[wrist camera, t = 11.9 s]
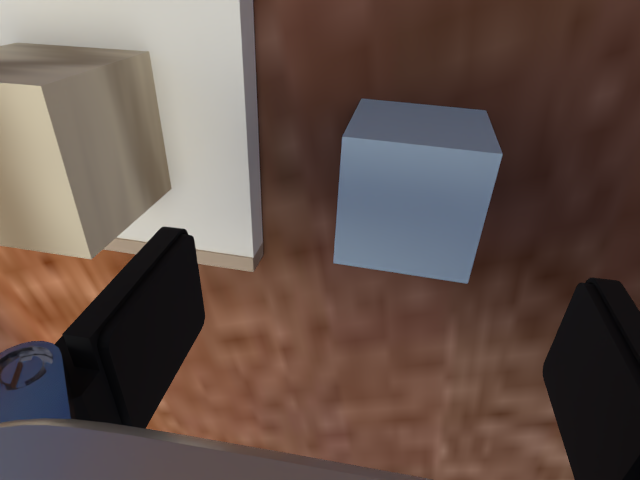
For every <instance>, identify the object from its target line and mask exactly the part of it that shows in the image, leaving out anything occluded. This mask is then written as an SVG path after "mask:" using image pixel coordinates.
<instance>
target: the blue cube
mask: <svg viewBox="0 0 640 480" xmlns="http://www.w3.org/2000/svg"><path fill="white" fill-rule="evenodd" d="M502 155H503V154H502V151H501V148H500V146H499V143H498V141H497V138H496V135H495V133H494V130H493V127H492V125H491V122H490V119H489V117H488V114H487V111H486V110H477V109H466V108H456V107H445V106H435V105H424V104H414V103H404V102H393V101H383V100H372V99H362V98H361V100H360V102H359V104H358V106H357V108H356V110H355V112H354V114H353V116H352V118H351V120H350V122H349V124H348V126H347V128H346V130H345V132H344V134H343V136H342V148H341V162H340V176H339V190H338V204H337V219H336V233H335V247H334V261H333V263H336V264H343V265H349V266H356V267H362V268H369V269H375V270H382V271H388V272H395V273H401V274H408V275H414V276H421V277H428V278H434V279H441V280H447V281H454V282H460V283H467V284H468V281H469V277H470V273H471V269H472V266H473V262H474V258H475V255H476V251H477V247H478V244H479V240H480V236H481V232H482V229H483V225H484V221H485V218H486V214H487V210H488V207H489V203H490V199H491V195H492V192H493V188H494V184H495V181H496V177H497V173H498V170H499V166H500V162H501V158H502Z"/></svg>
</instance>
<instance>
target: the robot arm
mask: <svg viewBox="0 0 640 480" xmlns="http://www.w3.org/2000/svg"><path fill="white" fill-rule="evenodd" d="M204 320H205V312H204V305H203V297H202V290H201V283H200V276H199V269H198V262H197V255H196V248H195V241H194V237H193V236H192V235H188V232H187V230H185V229H182V228H174V227H165V226H164V227H161V228H160V229H159V230H158V231H157V232H156V233H155V234H154V236H153V237H152V238H151V239H150V240H149V241H148V242H147V243H146V244H145V245H144V246H143V247H142V249H141V250H140V251H139V252H138V253H137V254H136V255H135V256H134V257H133V258H132V259H131V260H130V262H129V263H128V264H127V265H126V266H125V267H124V268H123V269H122V270H121V271H120V272H119V273H118V275H117V276H116V277H115V278H114V279H113V280H112V281H111V282H110V283H109V284H108V285H107V286H106V288H105V289H104V290H103V291H102V292H101V293H100V294H99V295H98V296H97V297H96V298H95V299H94V301H93V302H92V303H91V304H90V305H89V306H88V307H87V308H86V309H85V310H84V311H83V312H82V314H81V315H80V316H79V317H78V318H77V319H76V320H75V321H74V322H73V323H72V324H71V325H70V327H69V328H68V329H67V330H66V331H65V332H64V333H63V336H62V337H61V338H60V339H59V340H58V341H57V342H56V343H55V344H53V343H49V342H45V341H31V342H27V343H22V344H19V345H16V346H13V347H11V348H8V349H6V350H5V351H3V352H1V353H0V480H432V479H427V478H422V477H416V476H411V475H405V474H400V473H394V472H389V471H383V470H378V469H372V468H367V467H361V466H356V465H350V464H345V463H339V462H334V461H328V460H322V459H317V458H311V457H306V456H300V455H295V454H289V453H284V452H278V451H272V450H267V449H261V448H255V447H249V446H244V445H238V444H232V443H227V442H221V441H215V440H209V439H204V438H198V437H192V436H187V435H181V434H175V433H169V432H163V431H156V430H150V429H145V428H146V427H147V425H148V423H149V421H150V420H151V418H152V416H153V414H154V412H155V411H156V409H157V407H158V405H159V404H160V402H161V400H162V398H163V396H164V395H165V393H166V391H167V389H168V388H169V386H170V384H171V382H172V380H173V379H174V377H175V375H176V373H177V372H178V370H179V368H180V366H181V364H182V363H183V361H184V359H185V357H186V356H187V354H188V352H189V350H190V349H191V347H192V345H193V343H194V341H195V340H196V338H197V336H198V334H199V333H200V331H201V329H202V327H203V324H204ZM543 378H544V382H545V385H546V388H547V391H548V395H549V398H550V401H551V404H552V408H553V411H554V414H555V417H556V420H557V424H558V427H559V430H560V433H561V436H562V440H563V443H564V446H565V449H566V453H567V456H568V459H569V462H570V465H571V469H572V472H573V475H574V478H575V480H640V312H639V310H638V308H637V307H636V305H635V304H634V302H633V301H632V299H631V297H630V296H629V294H628V293H627V291H626V290H625V288H624V287H623V285H622V284H621V283H620V282H619V281H616V280H607V279H599V278H589V279H588V280H587V281H586V283H579V284H578V285H577V287H576V289H575V292H574V294H573V296H572V299H571V301H570V303H569V306H568V308H567V310H566V313H565V315H564V317H563V320H562V322H561V324H560V327H559V329H558V331H557V334H556V336H555V339H554V341H553V343H552V346H551V348H550V350H549V353H548V355H547V357H546V360H545V362H544V365H543Z"/></svg>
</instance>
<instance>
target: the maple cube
mask: <svg viewBox="0 0 640 480" xmlns="http://www.w3.org/2000/svg"><path fill="white" fill-rule="evenodd" d="M171 189H172V188H171V182H170V176H169V170H168V164H167V158H166V152H165V145H164V139H163V133H162V127H161V121H160V115H159V109H158V103H157V96H156V90H155V84H154V78H153V72H152V66H151V60H150V54H149V51H135V50H120V49H105V48H90V47H75V46H60V45H45V44H30V43H13V44H8V45H3V46H0V246H6V247H13V248H19V249H26V250H33V251H39V252H46V253H53V254H60V255H66V256H73V257H80V258H86V259H92V258H94V257H95V256H96V255H97V254H98V253H99V252H100V251H101V250H103V249H104V248H105V247H106V246H107V245H108V244H109V243H111V242H112V241H113V240H114V239H115V238H116V237H117V236H119V235H120V234H121V233H122V232H123V231H124V230H125V229H126V228H128V227H129V226H130V225H131V224H132V223H133V222H134V221H136V220H137V219H138V218H139V217H140V216H141V215H142V214H143V213H145V212H146V211H147V210H148V209H149V208H150V207H151V206H153V205H154V204H155V203H156V202H157V201H158V200H159V199H161V198H162V197H163V196H164V195H165V194H166V193H167V192H168V191H170V190H171Z"/></svg>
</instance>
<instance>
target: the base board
mask: <svg viewBox="0 0 640 480" xmlns="http://www.w3.org/2000/svg"><path fill="white" fill-rule="evenodd" d="M13 43H30V44H45V45H60V46H75V47H90V48H105V49H120V50H135V51H149V54H150V60H151V66H152V72H153V78H154V84H155V90H156V96H157V103H158V109H159V115H160V121H161V127H162V133H163V139H164V145H165V152H166V158H167V164H168V170H169V176H170V182H171V188H172V189H171V190H170V191H168V192H167V193H166V194H165V195H164V196H163V197H162V198H161V199H159V200H158V201H157V202H156V203H155V204H154V205H153V206H151V207H150V208H149V209H148V210H147V211H146V212H145V213H143V214H142V215H141V216H140V217H139V218H138V219H137V220H136V221H134V222H133V223H132V224H131V225H130V226H129V227H128V228H126V229H125V230H124V231H123V232H122V233H121V234H120V235H119V236H117V237H116V238H115V239H114V240H113V241H112V242H111V243H109V244H108V245H107V246H106V247H105V248H104V250H111V251H118V252H124V253H131V254H137V253H138V252H139V251H140V250H141V249H142V247H143V246H144V245H145V244H146V243H147V242H148V241H149V240H150V239H151V238H152V237H153V236H154V234H155V233H156V232H157V231H158V230H159V229H160V228H161V227H164V226H165V227H174V228H182V229H185V230H187V232H188V235H192V236H193V237H194V241H195V248H196V255H197V262H198V264H204V265H210V266H217V267H224V268H230V269H237V270H243V271H250V272H254V270H255V269H256V267H257V265H258V263H259V262H260V260H261V258H262V256H263V233H262V208H261V184H260V159H259V135H258V110H257V86H256V61H255V37H254V12H253V0H0V46H3V45H8V44H13Z"/></svg>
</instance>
